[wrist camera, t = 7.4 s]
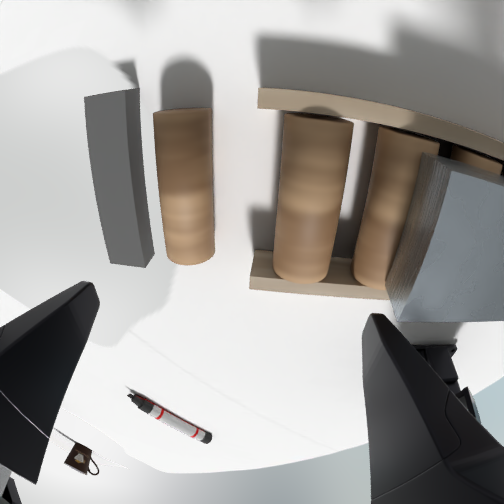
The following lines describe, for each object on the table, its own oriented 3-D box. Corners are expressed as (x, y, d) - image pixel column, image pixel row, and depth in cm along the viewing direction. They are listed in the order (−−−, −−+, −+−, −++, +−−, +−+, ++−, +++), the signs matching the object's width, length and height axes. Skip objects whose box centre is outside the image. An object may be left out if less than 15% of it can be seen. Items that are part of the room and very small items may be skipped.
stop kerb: (154, 253, 21) (145, 267, 20) (120, 250, 22) (110, 263, 20) (139, 88, 15) (125, 90, 13) (100, 94, 15) (84, 97, 14)
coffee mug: (69, 439, 71) (60, 461, 62) (79, 442, 68) (70, 465, 59) (94, 454, 75) (86, 475, 67) (105, 457, 72) (97, 480, 64)
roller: (170, 108, 16) (141, 115, 13) (219, 107, 15) (197, 113, 13) (179, 236, 21) (158, 260, 18) (221, 242, 20) (204, 268, 18)
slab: (513, 292, 15) (530, 319, 13) (384, 285, 16) (397, 321, 14) (553, 196, 11) (579, 217, 8) (422, 151, 12) (451, 170, 9)
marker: (213, 432, 40) (211, 443, 38) (205, 434, 41) (202, 444, 39) (133, 387, 35) (128, 398, 33) (126, 389, 36) (122, 400, 34)
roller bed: (491, 281, 19) (509, 308, 16) (254, 261, 21) (248, 295, 18) (535, 158, 13) (564, 175, 10) (263, 87, 14) (257, 88, 11)
